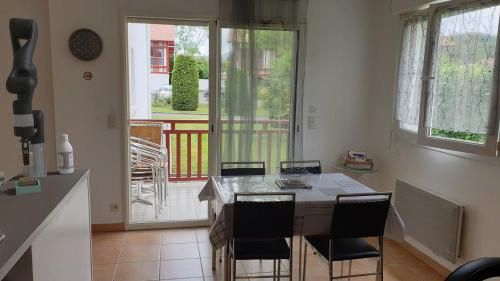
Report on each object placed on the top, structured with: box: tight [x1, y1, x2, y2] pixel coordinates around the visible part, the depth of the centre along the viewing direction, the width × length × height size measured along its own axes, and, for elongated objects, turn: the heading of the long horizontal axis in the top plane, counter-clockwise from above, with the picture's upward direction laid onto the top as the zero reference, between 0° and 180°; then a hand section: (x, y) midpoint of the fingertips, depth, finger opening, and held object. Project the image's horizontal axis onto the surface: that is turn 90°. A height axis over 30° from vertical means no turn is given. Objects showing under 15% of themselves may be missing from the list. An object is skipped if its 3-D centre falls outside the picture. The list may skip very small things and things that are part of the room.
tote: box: [14, 178, 42, 196], centre depth 167 cm, size 11×9×4 cm
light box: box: [18, 152, 33, 168], centre depth 165 cm, size 5×5×5 cm
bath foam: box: [57, 133, 75, 175], centre depth 198 cm, size 7×7×20 cm
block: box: [18, 176, 37, 187], centre depth 166 cm, size 6×6×5 cm
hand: (26, 163), depth 165 cm, fingers closed on light box, 5 cm apart
